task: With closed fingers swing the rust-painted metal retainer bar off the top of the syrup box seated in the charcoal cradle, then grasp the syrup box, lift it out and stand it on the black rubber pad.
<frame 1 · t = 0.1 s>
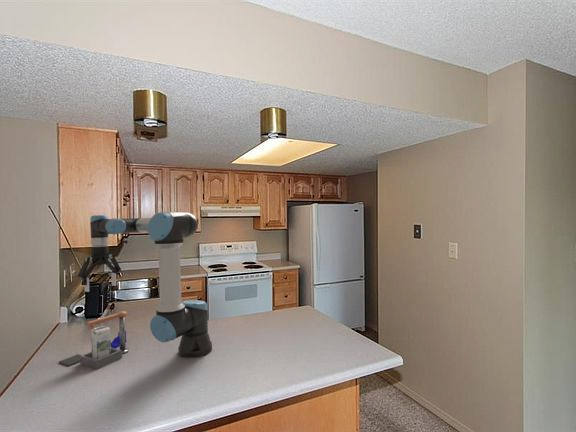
hand: (101, 288, 156), 28 cm above the worktop, fingers open, 13 cm apart
syrup box: (101, 361, 137), resting in cradle
post: (122, 352, 146), on the worktop
pad: (73, 360, 138), on the worktop
cradle: (101, 361, 137), on the worktop
blue stepped block: (113, 347, 152), on the worktop
retainer: (108, 320, 140), point 17 cm above the worktop, hinge at 0.0°
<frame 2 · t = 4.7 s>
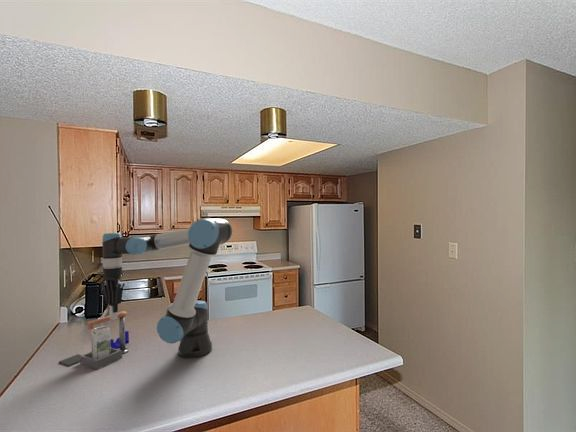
hand: (113, 319, 141), 17 cm above the worktop, fingers closed
blue stepped block: (116, 348, 152), on the worktop
retainer: (108, 320, 140), point 17 cm above the worktop, hinge at 0.0°, touching gripper
everything else where it was.
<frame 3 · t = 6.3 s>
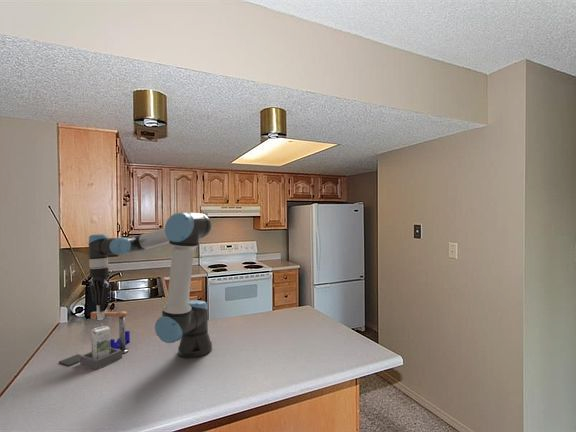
hand: (100, 318, 144), 17 cm above the worktop, fingers closed
retainer: (108, 315, 147), point 17 cm above the worktop, hinge at -69.1°, touching gripper
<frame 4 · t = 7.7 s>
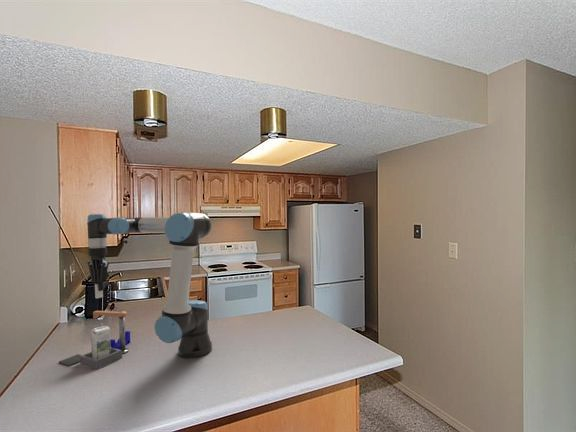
hand: (99, 297, 146), 26 cm above the worktop, fingers closed
retainer: (109, 315, 147), point 17 cm above the worktop, hinge at -75.4°
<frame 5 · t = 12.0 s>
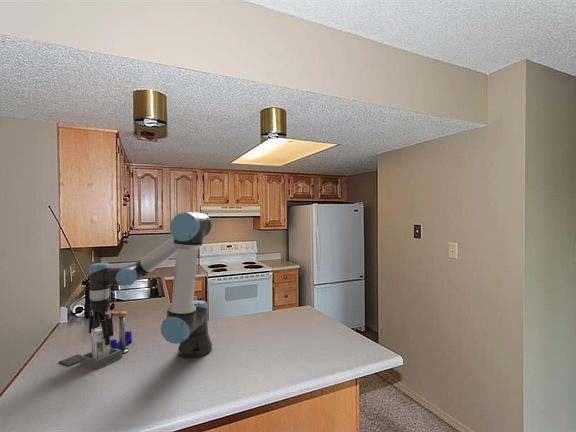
hand: (101, 350, 137), 4 cm above the worktop, fingers closed on syrup box, 6 cm apart
syrup box: (101, 361, 137), resting in cradle, touching gripper
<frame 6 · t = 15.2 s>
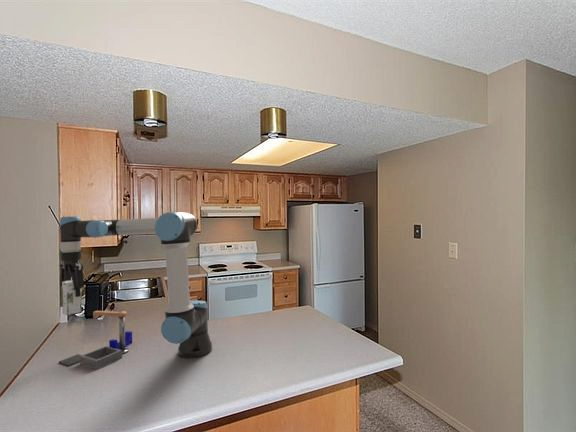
hand: (72, 303, 138), 26 cm above the worktop, fingers closed on syrup box, 6 cm apart
syrup box: (72, 313, 138), point 21 cm above the worktop, touching gripper
when the fingers open (7 cm above the worktop, at t = 18.8 s): syrup box drops 2 cm, resting on pad.
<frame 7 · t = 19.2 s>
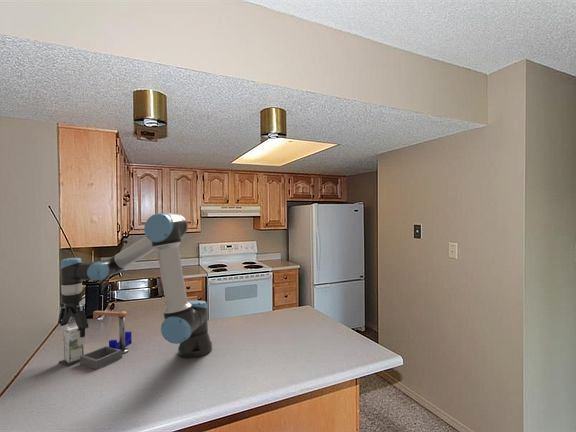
hand: (73, 342, 138), 8 cm above the worktop, fingers open, 12 cm apart
syrup box: (74, 360, 138), resting on pad
blue stepped block: (119, 348, 151), on the worktop, touching post
everything else where it was.
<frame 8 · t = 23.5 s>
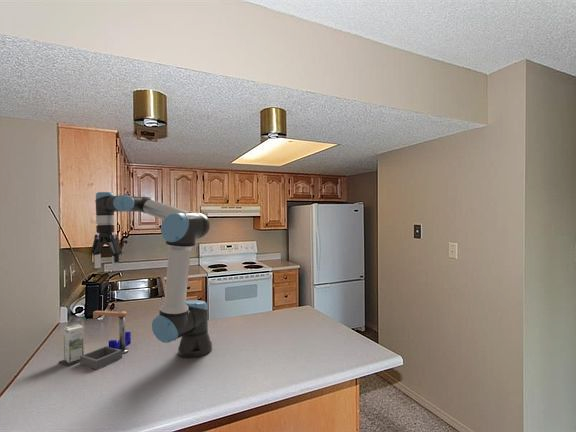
hand: (106, 268, 149), 39 cm above the worktop, fingers open, 13 cm apart
blue stepped block: (118, 349, 151), on the worktop
everything else where it was.
at the end: syrup box inside the target area on the pad (0.4 cm from its centre), point 0.4 cm above the pad's base; syrup box tilted 0°; retainer at -75° (first picture: +0°) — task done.
